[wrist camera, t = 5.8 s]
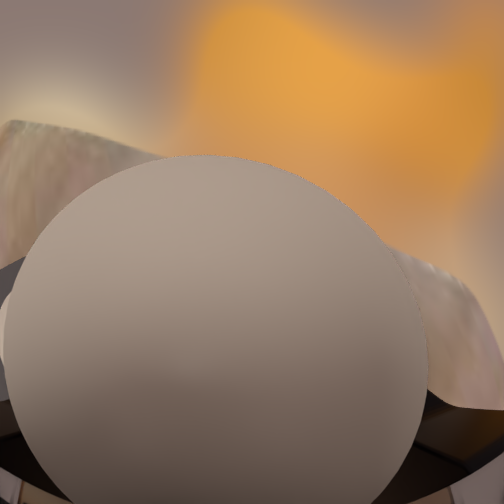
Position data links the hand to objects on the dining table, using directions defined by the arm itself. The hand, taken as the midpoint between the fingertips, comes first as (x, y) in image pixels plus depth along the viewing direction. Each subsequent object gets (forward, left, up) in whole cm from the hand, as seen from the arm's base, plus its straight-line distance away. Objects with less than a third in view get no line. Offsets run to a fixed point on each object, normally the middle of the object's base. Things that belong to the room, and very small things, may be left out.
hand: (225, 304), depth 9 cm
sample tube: (-1, 0, -7) cm, 7 cm away
